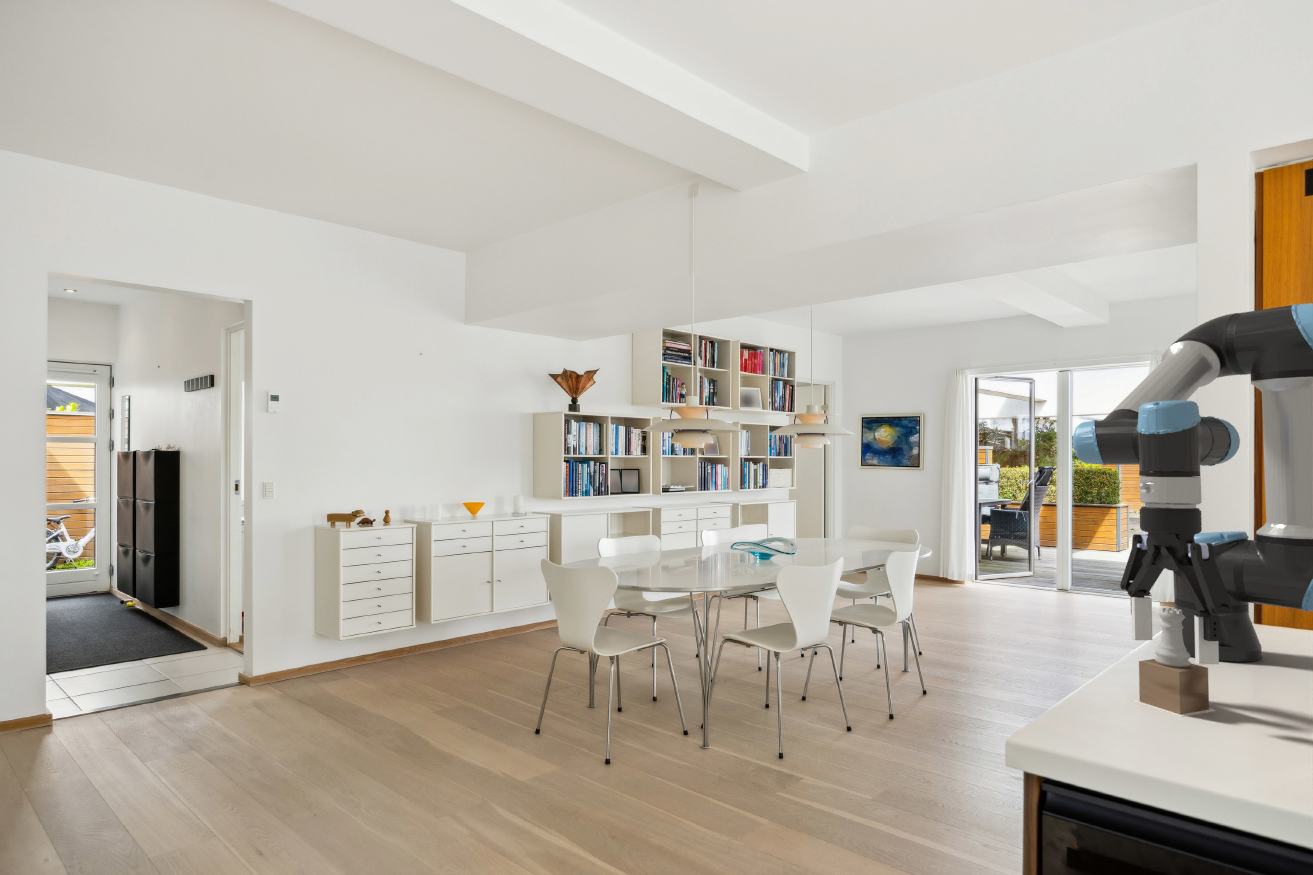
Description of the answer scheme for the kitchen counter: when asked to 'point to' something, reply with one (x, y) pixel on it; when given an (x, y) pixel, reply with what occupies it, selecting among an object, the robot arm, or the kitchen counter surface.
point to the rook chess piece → (1172, 640)
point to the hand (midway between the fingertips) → (1172, 651)
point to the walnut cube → (1174, 687)
